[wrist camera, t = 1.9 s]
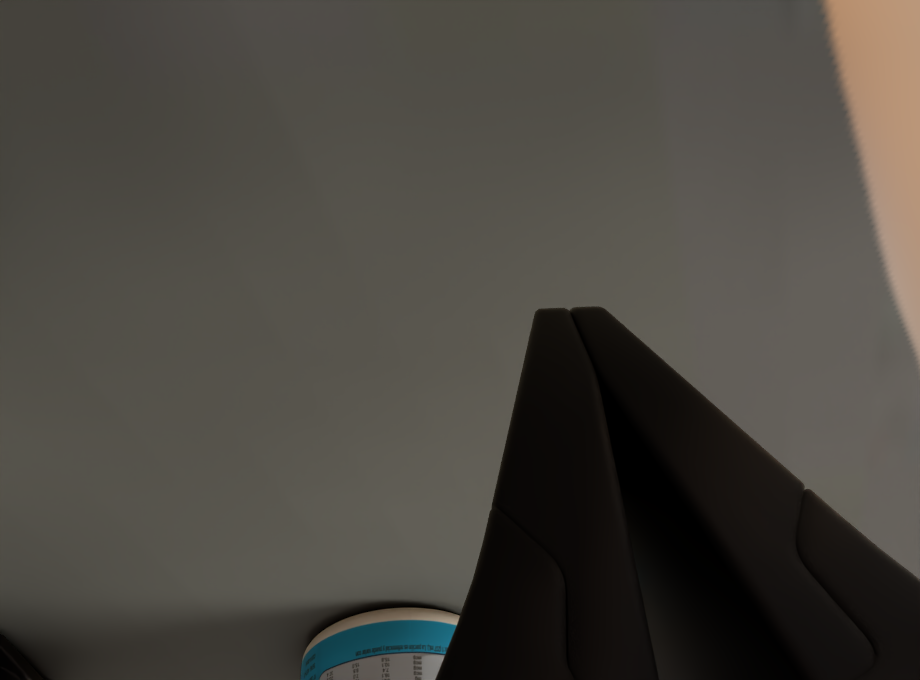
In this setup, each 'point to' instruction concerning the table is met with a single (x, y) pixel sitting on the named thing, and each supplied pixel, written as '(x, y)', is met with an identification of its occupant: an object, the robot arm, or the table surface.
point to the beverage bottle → (381, 646)
